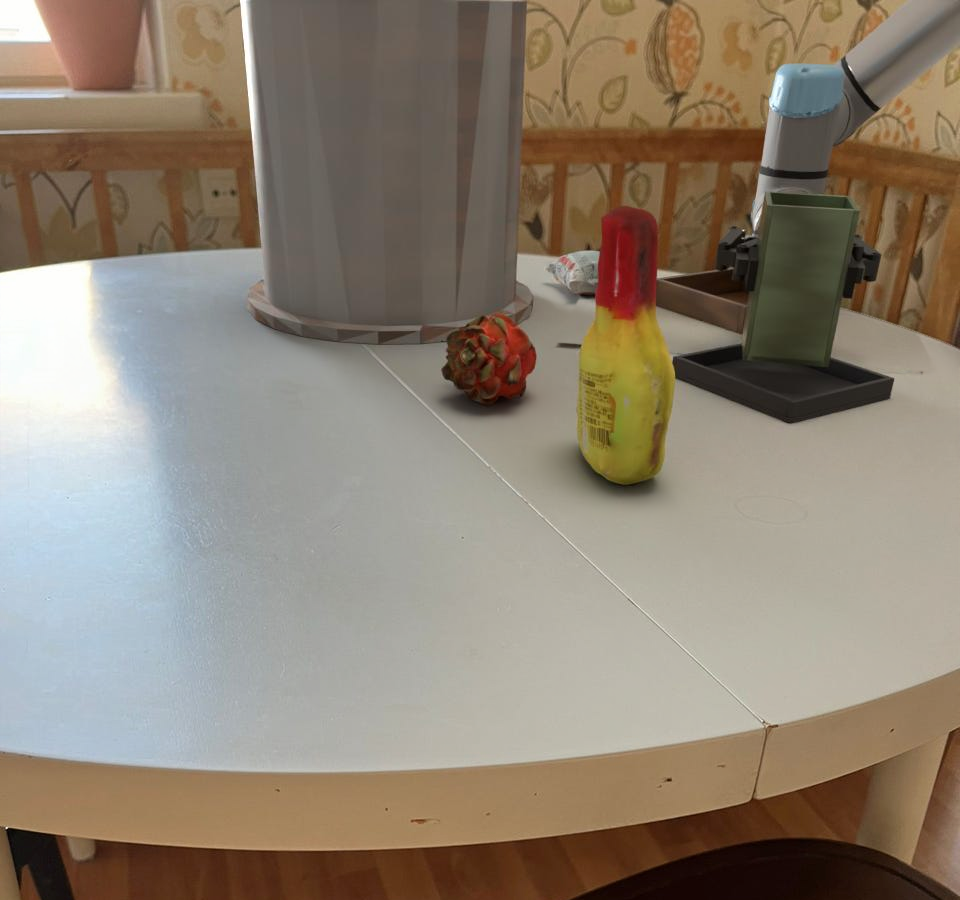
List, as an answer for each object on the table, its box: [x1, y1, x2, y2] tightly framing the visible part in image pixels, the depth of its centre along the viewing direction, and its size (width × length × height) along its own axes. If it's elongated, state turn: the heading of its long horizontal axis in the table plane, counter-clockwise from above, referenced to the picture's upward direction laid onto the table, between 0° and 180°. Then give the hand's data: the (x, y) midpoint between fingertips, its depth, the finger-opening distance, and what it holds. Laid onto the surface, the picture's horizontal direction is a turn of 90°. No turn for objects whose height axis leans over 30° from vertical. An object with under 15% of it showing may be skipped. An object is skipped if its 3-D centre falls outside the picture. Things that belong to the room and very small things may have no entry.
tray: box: [671, 342, 895, 424], centre depth 104 cm, size 16×14×2 cm
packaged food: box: [544, 250, 600, 296], centre depth 135 cm, size 9×12×5 cm
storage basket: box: [240, 0, 534, 345], centre depth 121 cm, size 35×35×32 cm
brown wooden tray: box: [656, 267, 749, 335], centre depth 128 cm, size 16×16×4 cm
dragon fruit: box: [440, 313, 537, 406], centre depth 99 cm, size 8×8×12 cm
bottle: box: [576, 205, 676, 486], centre depth 81 cm, size 12×6×20 cm, turn 13°
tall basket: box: [741, 191, 861, 367], centre depth 99 cm, size 8×8×14 cm
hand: (801, 279), depth 95 cm, fingers closed on tall basket, 8 cm apart
